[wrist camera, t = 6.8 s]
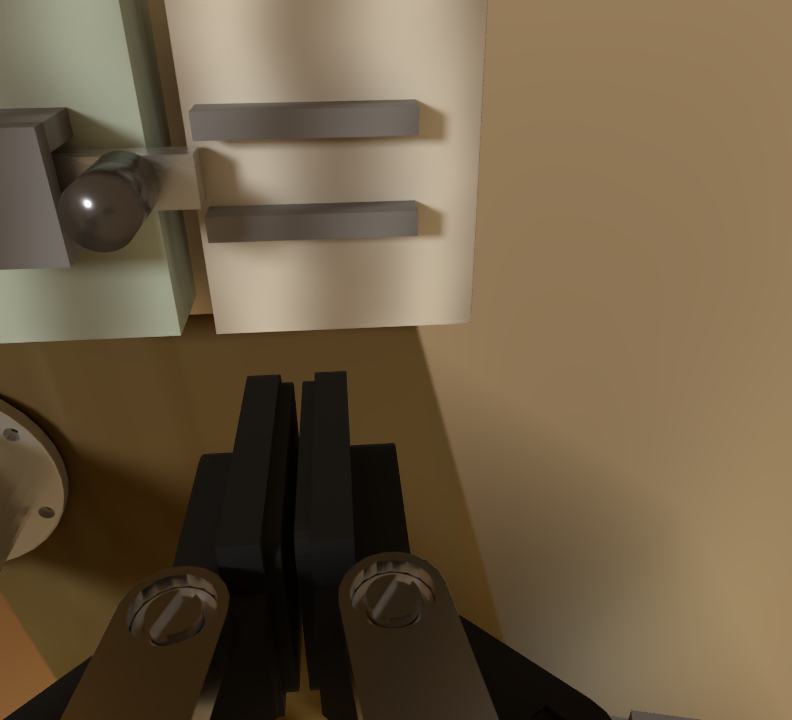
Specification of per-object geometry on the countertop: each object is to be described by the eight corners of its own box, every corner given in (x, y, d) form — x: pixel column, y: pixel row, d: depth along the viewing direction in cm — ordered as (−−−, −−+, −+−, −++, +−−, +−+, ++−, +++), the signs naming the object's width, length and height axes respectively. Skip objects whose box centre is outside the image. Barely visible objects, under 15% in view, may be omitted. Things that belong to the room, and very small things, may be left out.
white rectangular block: (465, -77, 28) (513, -85, 20) (451, 290, 36) (482, 381, 29) (-58, -73, 27) (-211, -80, 19) (51, 306, 35) (-27, 405, 27)
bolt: (197, 140, 26) (172, 176, 22) (207, 203, 27) (184, 249, 23) (-29, 146, 25) (-98, 184, 21) (-9, 210, 26) (-71, 258, 22)
